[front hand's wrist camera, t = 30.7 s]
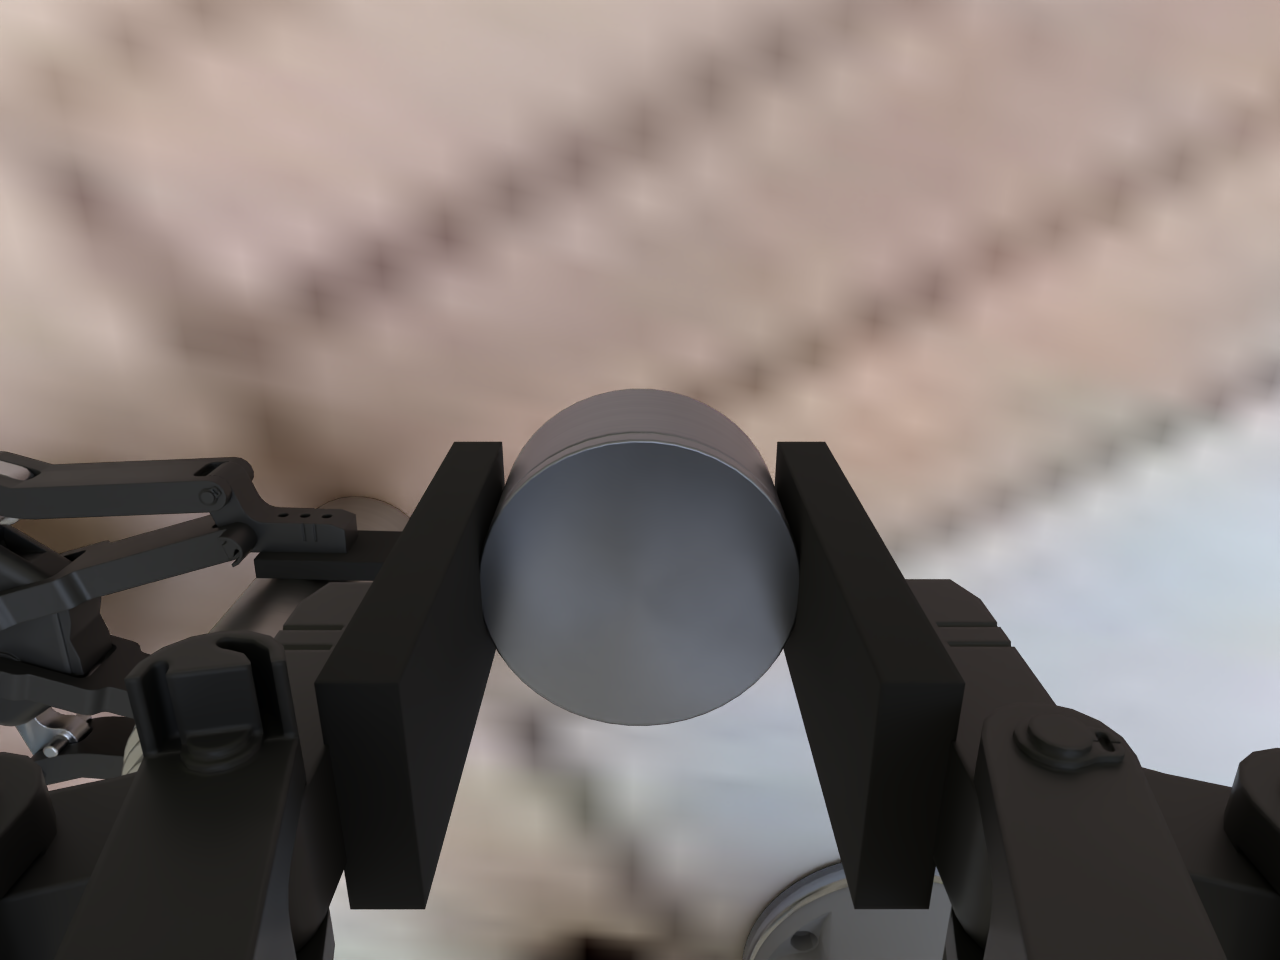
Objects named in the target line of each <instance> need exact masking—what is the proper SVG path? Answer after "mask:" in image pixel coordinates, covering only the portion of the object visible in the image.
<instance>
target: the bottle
mask: <svg viewBox="0 0 1280 960" xmlns="http://www.w3.org/2000/svg"><path fill="white" fill-rule="evenodd" d="M319 508H321V509H343V510H346V511H349V512H351V513H354V514H356V521H357V530H369V531H403V529H404V527H405V526H406V524H407V522H408V521H409V519H410V518H409V517H408V516H407V515H405V514H404V513H403V512H401V511H400V510H399V509H397V508H395V507H393V506H392V505H390V504H387V503H385V502H383V501H380V500H376V499H372V498H367V497H345V498H340V499H336V500H333V501H330V502H328V503H326V504H324V505H322V506H321V507H319ZM329 582H373V581H351V580H310V579H269V578H255V580H254V581H253V582H252V583H251V584H250V585H249V587H248V588H247V589H246V590H245V591H244V592H243V594H242V595H241V596H240V597H239V598H238V599H237V601H236V602H235V603H234V604H233V605H232V606H231V608H230V609H229V610H228V611H227V612H226V613H225V615H224V616H223V617H222V618H221V619H220V620H219V621H218V623H217V624H216V625H215V626H214V627H213V628H212V630H211V631H210V632H209V633H213V632H218V631H247V630H249V631H253V632H257V633H262V634H266V635H270V636H272V637H273V638H274V637H275V636H276V634H277V633H278V632H279V630H283V625H284V623H285V622H286V620H287V619H288V618H289V616H290V615H291V613H292V612H293V611H294V609H295V608H296V606H297V605H298V604H299V602H301V601H302V600H304V599H305V598H307V597H308V596H310V595H311V594H313V593H314V592H316V591H317V590H319V589H320V588H322V587H323V586H325V585H326V584H328V583H329ZM143 757H144V756H143V752H142V748H141V744H140V740H139V737H138V733H137V729H136V725H135V726H134V729H133V731H132V733H131V735H130V736H129V738H128V741H127V744H126V746H125V751H124V757H123V768H122V773H121V776H122V775H126V774H129V773H133V772H137V771H138V768H139V766H140V764H141V762H142V759H143Z"/></svg>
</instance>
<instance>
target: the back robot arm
mask: <svg viewBox="0 0 1280 960" xmlns="http://www.w3.org/2000/svg"><path fill="white" fill-rule="evenodd" d="M253 478H254V471H253V469H252V466H251V465H250V464H249V463H248V462H247V461H246V460H244V459H242V458H237V457H225V458H200V459H176V460H151V461H127V462H102V463H78V464H54V465H53V464H49V463H46V462H42V461H39V460H35V459H31V458H28V457H24V456H20V455H17V454H13V453H9V452H3V451H0V725H4V726H16V728H17V730H18V731H19V733H20V735H21V736H22V738H23V739H24V741H25V743H26V744H27V746H28V747H29V749H30V751H31V752H32V754H33V756H32V757H31V759H32V760H33V761H34V762H36V763H37V764H38V765H39V766H40V767H41V769H42V772H43V775H44V779H45V782H46V785H49V784H54V783H59V782H63V781H68V780H72V779H77V778H81V777H84V778H97V779H110V778H115V777H118V776H121V773H122V768H123V757H124V751H125V746H126V744H127V741H128V738H129V736H130V735H131V733H132V731H133V729H134V726H135V721H134V717H133V713H132V709H131V705H130V701H129V697H128V693H127V690H126V686H125V682H124V678H125V677H126V676H127V675H128V674H129V673H130V672H131V671H132V669H133V668H134V667H135V666H136V665H137V664H138V663H139V662H140V661H142V660H143V659H145V658H147V657H148V656H150V654H146V653H144V652H142V651H141V649H140V645H139V644H138V643H136V642H133V641H130V640H126V639H123V638H119V637H116V636H112V635H110V634H109V630H108V628H107V626H106V624H105V623H104V621H103V619H102V617H101V615H100V605H101V596H104V595H108V594H112V593H115V592H119V591H122V590H126V589H130V588H133V587H137V586H141V585H144V584H148V583H152V582H155V581H159V580H163V579H166V578H170V577H173V576H177V575H181V574H184V573H188V572H192V571H195V570H199V569H203V568H206V567H210V566H213V565H217V564H221V563H224V562H228V561H232V560H235V559H236V560H235V561H234V563H233V564H232V566H233V567H234V566H236V565H238V564H239V563H240V562H241V561H242V560H243V559H244V558H245V557H246V556H247V555H248V554H249V552H260V553H259V554H258V555H257V557H256V558H255V559H254V565H255V572H256V578H269V579H310V580H351V581H374V579H375V577H376V576H377V574H378V572H379V570H380V569H381V567H382V565H383V564H384V562H385V560H386V558H387V557H388V555H389V553H390V552H391V550H392V548H393V546H394V545H395V543H396V541H397V539H398V538H399V536H400V534H401V533H402V531H369V530H357V521H356V514H354V513H351V512H349V511H346V510H343V509H321V508H317V509H314V508H281V507H274V506H271V505H269V504H267V503H266V502H265V501H264V500H262V499H261V497H260V496H259V494H258V493H257V491H256V489H255V487H254V485H253V483H252V480H253ZM204 512H210V514H211V515H208V516H204V517H201V518H197V519H194V520H190V521H186V522H183V523H179V524H176V525H172V526H169V527H165V528H162V529H158V530H154V531H151V532H147V533H144V534H140V535H137V536H133V537H130V538H126V539H122V540H119V541H115V542H111V543H110V542H109V541H103V542H99V543H96V544H92V545H89V546H85V547H82V548H78V549H75V550H71V551H67V552H64V553H60V554H58V553H57V552H55V551H53V550H52V549H50V548H48V547H46V546H45V545H43V544H41V543H40V542H38V541H36V540H34V539H33V538H31V537H29V536H28V535H26V534H24V533H23V532H21V531H19V530H17V529H16V528H14V527H12V526H11V524H14V523H16V522H17V521H19V520H21V519H54V518H79V517H104V516H129V515H154V514H179V513H204ZM52 707H55V708H59V709H63V710H66V711H70V712H74V713H77V714H76V715H64V714H60V713H58V712H56V711H55V710H54V709H52ZM100 712H110V713H114V714H118V715H121V716H125V717H116V716H111V717H99V718H93V719H92V716H91V715H94V714H97V713H100Z"/></svg>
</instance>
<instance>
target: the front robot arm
mask: <svg viewBox="0 0 1280 960" xmlns="http://www.w3.org/2000/svg"><path fill="white" fill-rule="evenodd" d="M504 487H505V483H504V466H503V450H502V442H454V443H453V445H452V447H451V448H450V450H449V452H448V454H447V455H446V457H445V459H444V460H443V462H442V464H441V466H440V467H439V469H438V471H437V472H436V474H435V476H434V478H433V479H432V481H431V483H430V485H429V486H428V488H427V490H426V491H425V493H424V495H423V497H422V498H421V500H420V502H419V503H418V505H417V507H416V509H415V510H414V512H413V514H412V515H411V517H410V519H409V521H408V522H407V524H406V526H405V527H404V529H403V531H402V533H401V534H400V536H399V538H398V539H397V541H396V543H395V545H394V546H393V548H392V550H391V552H390V553H389V555H388V557H387V558H386V560H385V562H384V564H383V565H382V567H381V569H380V570H379V572H378V574H377V576H376V577H375V579H374V581H373V582H329V583H328V584H326V585H325V586H323V587H322V588H320V589H319V590H317V591H316V592H314V593H313V594H311V595H310V596H308V597H307V598H305V599H304V600H302V601H301V602H299V604H298V605H297V606H296V608H295V609H294V611H293V612H292V613H291V615H290V616H289V618H288V619H287V620H286V622H285V623H284V625H283V630H279V632H278V633H277V634H276V636H275V637H274V638H273V637H272V636H270V635H266V634H262V633H257V632H253V631H249V630H247V631H218V632H213V633H208V634H203V635H198V636H193V637H190V638H187V639H184V640H182V641H179V642H176V643H174V644H171V645H168V646H166V647H163V648H161V649H160V650H158V651H156V652H155V653H153V654H152V655H150V656H148V657H147V658H145V659H143V660H142V661H140V662H139V663H138V664H137V665H136V666H135V667H134V668H133V669H132V671H131V672H130V673H129V674H128V675H127V676H126V677H125V678H124V682H125V686H126V690H127V693H128V697H129V701H130V705H131V709H132V713H133V717H134V721H135V725H136V729H137V733H138V737H139V740H140V744H141V748H142V752H143V756H144V757H143V759H142V762H141V764H140V766H139V768H138V771H137V772H133V773H129V774H126V775H122V776H118V777H115V778H110V779H105V780H100V781H95V782H90V783H86V784H81V785H76V786H71V787H66V788H62V789H57V790H52V791H48V788H47V785H46V782H45V779H44V775H43V772H42V769H41V767H40V766H39V765H38V764H37V763H36V762H34V761H33V760H32V759H31V758H29V757H28V756H25V755H19V754H13V753H7V752H0V960H333V958H334V948H335V942H334V935H333V929H332V922H331V917H330V911H329V906H330V903H331V900H332V898H333V895H334V893H335V890H336V888H337V885H338V883H339V880H340V878H341V875H342V873H343V870H344V872H345V878H346V885H347V891H348V897H349V903H350V909H425V907H426V904H427V900H428V896H429V893H430V889H431V885H432V882H433V878H434V874H435V871H436V867H437V863H438V860H439V856H440V852H441V849H442V845H443V841H444V838H445V834H446V830H447V827H448V823H449V819H450V816H451V812H452V808H453V805H454V801H455V797H456V794H457V790H458V786H459V783H460V779H461V775H462V772H463V768H464V764H465V761H466V757H467V753H468V750H469V746H470V742H471V739H472V735H473V731H474V728H475V724H476V720H477V717H478V713H479V709H480V706H481V702H482V698H483V695H484V691H485V687H486V684H487V680H488V676H489V673H490V669H491V665H492V662H493V658H494V654H495V651H496V647H495V645H494V643H493V642H492V640H491V638H490V636H489V634H488V631H487V628H486V626H485V623H484V620H483V611H482V598H481V585H480V570H479V560H480V556H481V552H482V548H483V544H484V541H485V538H486V535H487V533H488V530H489V527H490V525H491V522H492V519H493V517H494V514H495V511H496V509H497V506H498V503H499V501H500V498H501V495H502V493H503V490H504ZM775 489H776V492H777V495H778V497H779V500H780V503H781V505H782V508H783V511H784V513H785V516H786V519H787V522H788V524H789V527H790V530H791V532H792V535H793V538H794V540H795V543H796V546H797V550H798V555H799V559H800V576H799V590H798V604H797V615H796V622H795V624H794V627H793V629H792V632H791V634H790V637H789V639H788V641H787V643H786V644H785V646H784V648H783V649H784V653H785V656H786V660H787V664H788V667H789V671H790V675H791V678H792V682H793V686H794V689H795V693H796V697H797V700H798V704H799V708H800V711H801V715H802V719H803V722H804V726H805V730H806V733H807V737H808V741H809V744H810V748H811V752H812V755H813V759H814V763H815V766H816V770H817V774H818V777H819V781H820V785H821V788H822V792H823V796H824V799H825V803H826V807H827V810H828V814H829V818H830V821H831V825H832V829H833V832H834V836H835V840H836V843H837V847H838V851H839V854H840V858H841V862H842V863H839V864H835V865H832V866H829V867H827V868H824V869H822V870H819V871H817V872H815V873H813V874H811V875H809V876H807V877H805V878H803V879H801V880H800V881H798V882H797V883H795V884H793V885H792V886H790V887H789V888H788V889H786V890H785V891H784V892H782V893H781V894H780V895H779V896H778V897H777V898H775V899H774V900H773V901H772V902H771V903H770V904H769V906H768V907H767V908H766V909H765V910H764V911H763V913H762V914H761V915H760V917H759V918H758V919H757V921H756V923H755V924H754V926H753V928H752V930H751V932H750V934H749V936H748V939H747V942H746V945H745V949H744V954H743V960H1280V748H1273V749H1267V750H1261V751H1255V752H1252V753H1251V754H1250V755H1249V756H1247V757H1246V758H1245V759H1244V760H1242V761H1241V762H1240V763H1239V767H1238V770H1237V773H1236V776H1235V780H1234V783H1233V786H1232V787H1228V786H1223V785H1218V784H1213V783H1208V782H1203V781H1198V780H1194V779H1189V778H1184V777H1179V776H1174V775H1169V774H1165V773H1161V772H1157V771H1154V770H1150V769H1146V768H1143V767H1141V765H1140V762H1139V760H1138V758H1137V756H1136V754H1135V753H1134V752H1133V750H1132V749H1131V748H1130V746H1129V745H1128V744H1127V742H1126V741H1125V740H1124V738H1123V737H1122V736H1120V735H1119V734H1117V733H1116V732H1115V731H1113V730H1112V729H1110V728H1109V727H1108V726H1106V725H1105V724H1103V723H1102V722H1101V721H1099V720H1096V719H1094V718H1092V717H1089V716H1087V715H1085V714H1083V713H1080V712H1078V711H1076V710H1073V709H1070V708H1065V707H1061V706H1057V705H1056V704H1055V703H1054V701H1053V700H1052V699H1051V697H1050V696H1049V694H1048V693H1047V692H1046V690H1045V689H1044V687H1043V686H1042V685H1041V683H1040V682H1039V680H1038V679H1037V678H1036V676H1035V675H1034V673H1033V672H1032V671H1031V669H1030V668H1029V666H1028V665H1027V664H1026V662H1025V661H1024V659H1023V658H1022V657H1021V655H1020V654H1019V652H1018V651H1017V650H1016V648H1015V647H1011V641H1010V640H1009V638H1008V637H1007V636H1006V634H1005V633H1004V631H1003V630H1002V629H1001V627H997V622H996V620H995V619H994V617H993V616H992V615H991V613H990V612H989V611H988V609H987V608H986V606H985V605H984V604H983V602H982V601H981V599H979V598H978V597H976V596H975V595H973V594H972V593H970V592H969V591H967V590H966V589H964V588H963V587H961V586H959V585H958V584H956V583H955V582H953V581H952V580H950V579H905V578H904V577H903V575H902V573H901V571H900V570H899V568H898V566H897V565H896V563H895V561H894V559H893V558H892V556H891V554H890V553H889V551H888V549H887V547H886V546H885V544H884V542H883V541H882V539H881V537H880V535H879V534H878V532H877V530H876V529H875V527H874V525H873V523H872V522H871V520H870V518H869V516H868V515H867V513H866V511H865V510H864V508H863V506H862V504H861V503H860V501H859V499H858V498H857V496H856V494H855V492H854V491H853V489H852V487H851V486H850V484H849V482H848V480H847V479H846V477H845V475H844V474H843V472H842V470H841V468H840V467H839V465H838V463H837V461H836V460H835V458H834V456H833V455H832V453H831V451H830V449H829V448H828V446H827V444H826V443H825V442H777V457H776V473H775Z"/></svg>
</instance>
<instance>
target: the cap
mask: <svg viewBox="0 0 1280 960" xmlns="http://www.w3.org/2000/svg"><path fill="white" fill-rule="evenodd" d="M479 570H480V585H481V598H482V611H483V620H484V623H485V626H486V628H487V631H488V634H489V636H490V638H491V640H492V642H493V643H494V645H495V647H496V649H497V651H498V653H499V654H500V655H501V657H502V658H503V660H504V661H505V662H506V664H507V665H508V666H509V668H510V669H511V670H512V671H513V672H514V673H515V674H516V675H517V676H518V677H519V678H520V679H521V680H522V681H523V682H524V683H525V684H526V685H527V686H529V687H530V688H531V689H532V690H533V691H535V692H536V693H537V694H539V695H540V696H542V697H543V698H545V699H547V700H548V701H550V702H551V703H553V704H555V705H557V706H559V707H561V708H563V709H565V710H567V711H569V712H571V713H574V714H577V715H580V716H583V717H586V718H588V719H592V720H597V721H601V722H605V723H611V724H619V725H628V726H650V725H660V724H669V723H674V722H678V721H683V720H687V719H691V718H694V717H697V716H700V715H703V714H706V713H708V712H710V711H712V710H714V709H716V708H719V707H721V706H723V705H725V704H726V703H728V702H730V701H731V700H733V699H735V698H736V697H738V696H739V695H741V694H742V693H743V692H745V691H746V690H747V689H748V688H750V687H751V686H752V685H753V684H755V683H756V682H757V681H758V680H759V679H760V678H761V677H762V676H763V675H764V674H765V673H766V672H767V671H768V669H769V668H770V667H771V665H772V664H773V663H774V661H775V660H776V659H777V658H778V656H779V655H780V653H781V651H782V650H783V648H784V646H785V644H786V643H787V641H788V639H789V637H790V634H791V632H792V629H793V627H794V624H795V622H796V615H797V604H798V590H799V576H800V559H799V555H798V550H797V546H796V543H795V540H794V538H793V535H792V532H791V530H790V527H789V524H788V522H787V519H786V516H785V513H784V511H783V508H782V505H781V503H780V500H779V497H778V495H777V492H776V489H775V487H774V484H773V481H772V478H771V476H770V473H769V470H768V468H767V465H766V464H765V462H764V460H763V458H762V456H761V454H760V452H759V451H758V449H757V448H756V447H755V445H754V444H753V443H752V441H751V440H750V439H749V437H748V436H747V435H746V434H745V433H744V432H743V431H742V430H741V429H740V428H739V427H738V426H737V425H736V424H735V423H734V422H732V421H731V420H730V419H728V418H727V417H726V416H724V415H723V414H722V413H720V412H719V411H717V410H715V409H713V408H712V407H710V406H708V405H707V404H705V403H702V402H700V401H697V400H695V399H693V398H690V397H688V396H684V395H680V394H677V393H673V392H669V391H662V390H654V389H626V390H617V391H611V392H607V393H603V394H599V395H595V396H592V397H590V398H587V399H584V400H582V401H579V402H577V403H575V404H573V405H571V406H570V407H568V408H566V409H564V410H562V411H561V412H559V413H558V414H556V415H555V416H554V417H552V418H551V419H550V420H548V421H547V422H546V423H545V424H544V425H543V426H542V427H541V428H540V429H538V430H537V431H536V432H535V433H534V434H533V436H532V437H531V438H530V439H529V441H528V442H527V443H526V444H525V446H524V447H523V448H522V450H521V452H520V454H519V455H518V457H517V459H516V460H515V462H514V464H513V467H512V469H511V472H510V474H509V477H508V479H507V482H506V484H505V487H504V490H503V493H502V495H501V498H500V501H499V503H498V506H497V509H496V511H495V514H494V517H493V519H492V522H491V525H490V527H489V530H488V533H487V535H486V538H485V541H484V544H483V548H482V552H481V556H480V560H479Z"/></svg>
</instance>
